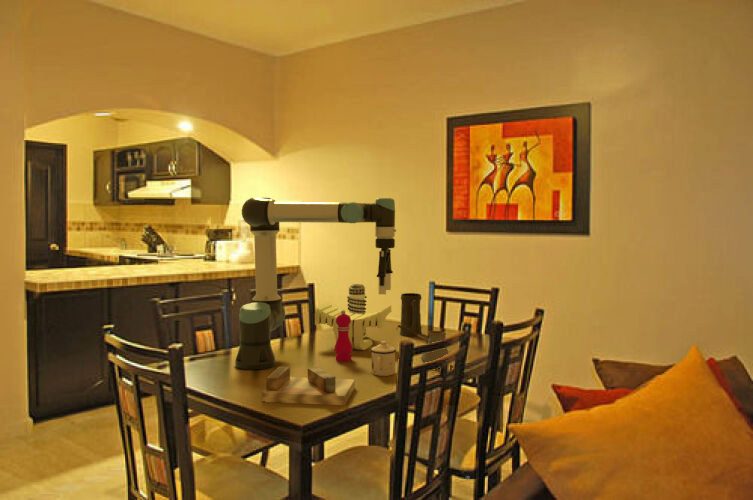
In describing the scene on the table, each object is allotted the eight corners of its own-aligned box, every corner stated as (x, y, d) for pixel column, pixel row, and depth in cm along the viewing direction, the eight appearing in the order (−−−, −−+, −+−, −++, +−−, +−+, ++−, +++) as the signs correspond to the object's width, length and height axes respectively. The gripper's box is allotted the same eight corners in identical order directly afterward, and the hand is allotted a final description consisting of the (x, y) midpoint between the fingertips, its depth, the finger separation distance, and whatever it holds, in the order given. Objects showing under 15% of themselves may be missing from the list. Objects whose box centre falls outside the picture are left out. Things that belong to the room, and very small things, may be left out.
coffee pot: (452, 362, 233) (453, 324, 232) (448, 370, 222) (448, 330, 221) (399, 359, 238) (399, 322, 238) (392, 366, 227) (393, 327, 227)
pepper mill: (350, 362, 233) (349, 311, 232) (332, 361, 234) (332, 311, 233) (354, 358, 240) (354, 309, 239) (337, 357, 242) (337, 308, 240)
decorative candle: (351, 334, 288) (351, 283, 286) (369, 335, 285) (369, 283, 283) (344, 338, 279) (344, 285, 278) (362, 339, 276) (362, 285, 275)
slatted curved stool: (315, 348, 258) (314, 307, 257) (328, 340, 273) (328, 302, 272) (381, 353, 249) (381, 310, 248) (391, 345, 264) (391, 305, 263)
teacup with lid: (374, 369, 223) (374, 338, 222) (398, 370, 221) (398, 339, 220) (365, 377, 212) (365, 345, 211) (390, 379, 209) (390, 346, 208)
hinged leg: (307, 380, 196) (307, 366, 196) (317, 378, 198) (317, 365, 198) (327, 393, 182) (327, 379, 181) (337, 391, 183) (337, 377, 183)
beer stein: (396, 332, 292) (397, 292, 290) (416, 331, 295) (417, 291, 293) (407, 340, 278) (408, 299, 275) (428, 339, 281) (429, 298, 278)
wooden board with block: (262, 401, 184) (261, 379, 183) (279, 385, 202) (279, 365, 201) (344, 405, 180) (344, 382, 180) (354, 388, 198) (354, 367, 198)
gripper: (390, 239, 218) (390, 296, 220) (398, 236, 243) (398, 288, 244) (370, 239, 219) (370, 296, 221) (380, 236, 244) (380, 287, 245)
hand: (384, 292), depth 232 cm, fingers open, 13 cm apart
